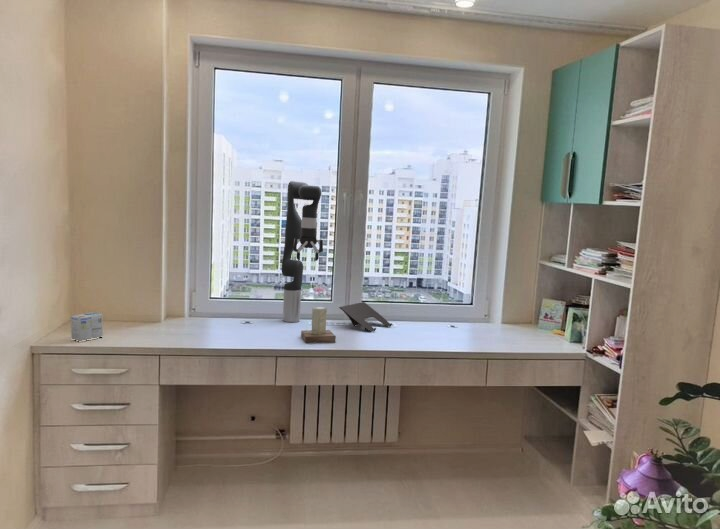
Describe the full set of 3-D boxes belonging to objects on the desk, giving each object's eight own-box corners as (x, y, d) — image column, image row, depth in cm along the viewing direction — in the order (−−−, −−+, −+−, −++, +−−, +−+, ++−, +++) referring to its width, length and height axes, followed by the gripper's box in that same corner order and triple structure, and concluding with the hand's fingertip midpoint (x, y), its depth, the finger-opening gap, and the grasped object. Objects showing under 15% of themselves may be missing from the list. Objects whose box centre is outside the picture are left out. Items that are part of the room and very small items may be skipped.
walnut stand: (300, 336, 245) (301, 330, 245) (329, 336, 249) (329, 330, 249) (305, 343, 234) (305, 336, 233) (335, 342, 238) (335, 336, 237)
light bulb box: (93, 335, 228) (93, 311, 227) (103, 338, 225) (103, 313, 223) (70, 340, 218) (70, 315, 217) (80, 342, 215) (80, 317, 214)
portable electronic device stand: (364, 343, 262) (372, 329, 258) (333, 317, 272) (340, 303, 269) (388, 336, 280) (395, 322, 277) (358, 312, 291) (365, 298, 288)
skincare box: (318, 335, 237) (320, 309, 236) (310, 333, 239) (312, 308, 238) (326, 332, 243) (327, 307, 242) (318, 331, 245) (319, 306, 244)
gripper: (295, 226, 241) (294, 261, 243) (325, 228, 246) (323, 261, 247) (293, 226, 249) (291, 259, 250) (321, 227, 253) (320, 260, 254)
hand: (307, 260), depth 249 cm, fingers open, 8 cm apart
